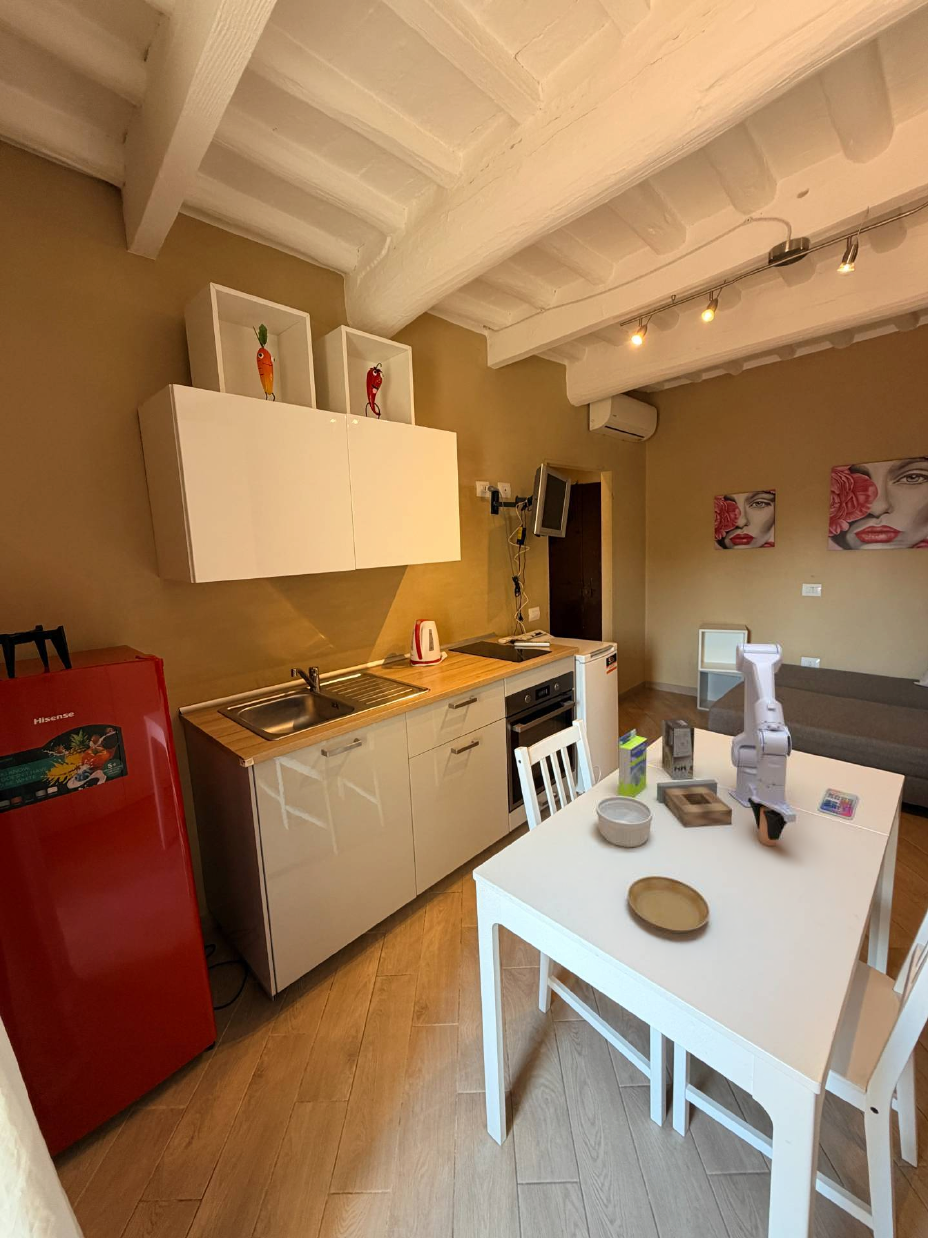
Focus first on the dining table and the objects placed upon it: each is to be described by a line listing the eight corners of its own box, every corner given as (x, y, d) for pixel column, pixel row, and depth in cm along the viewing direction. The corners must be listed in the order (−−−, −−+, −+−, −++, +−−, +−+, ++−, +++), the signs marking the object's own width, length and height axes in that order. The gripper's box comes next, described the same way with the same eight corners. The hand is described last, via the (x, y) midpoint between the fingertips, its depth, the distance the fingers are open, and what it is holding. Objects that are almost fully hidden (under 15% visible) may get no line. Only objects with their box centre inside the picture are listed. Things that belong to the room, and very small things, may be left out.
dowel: (769, 836, 118) (771, 805, 117) (779, 845, 115) (781, 813, 114) (755, 837, 118) (757, 806, 117) (765, 846, 115) (766, 814, 113)
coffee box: (694, 779, 148) (695, 728, 146) (672, 779, 148) (673, 728, 146) (681, 765, 157) (682, 717, 155) (661, 766, 157) (661, 718, 155)
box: (630, 801, 137) (631, 742, 135) (617, 796, 140) (617, 739, 138) (647, 787, 144) (648, 731, 142) (634, 783, 147) (634, 728, 145)
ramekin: (586, 837, 122) (586, 811, 121) (611, 814, 131) (611, 790, 130) (638, 858, 113) (638, 830, 112) (660, 832, 122) (661, 806, 121)
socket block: (706, 800, 136) (706, 786, 135) (731, 824, 124) (731, 809, 124) (663, 802, 136) (663, 789, 135) (684, 827, 124) (685, 812, 123)
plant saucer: (612, 910, 98) (612, 898, 97) (653, 877, 107) (653, 866, 106) (683, 956, 86) (684, 943, 86) (723, 915, 95) (723, 903, 95)
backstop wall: (712, 796, 138) (713, 779, 137) (716, 799, 136) (717, 782, 135) (656, 799, 138) (657, 782, 137) (660, 803, 136) (660, 786, 135)
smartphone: (859, 795, 134) (852, 819, 123) (859, 799, 134) (852, 822, 124) (826, 787, 139) (817, 808, 128) (826, 790, 139) (816, 812, 129)
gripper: (735, 766, 121) (733, 817, 123) (774, 796, 107) (771, 853, 109) (763, 765, 121) (760, 816, 123) (806, 794, 107) (802, 851, 109)
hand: (767, 833), depth 116 cm, fingers closed on dowel, 3 cm apart
